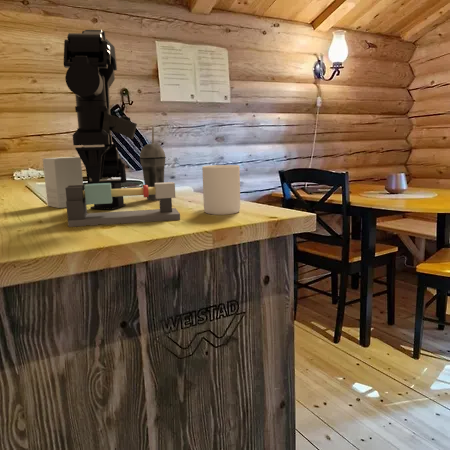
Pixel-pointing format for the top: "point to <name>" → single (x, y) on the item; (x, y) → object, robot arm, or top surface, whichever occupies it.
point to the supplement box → (61, 178)
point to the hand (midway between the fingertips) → (98, 181)
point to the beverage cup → (152, 164)
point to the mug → (221, 189)
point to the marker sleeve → (98, 193)
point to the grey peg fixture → (82, 218)
